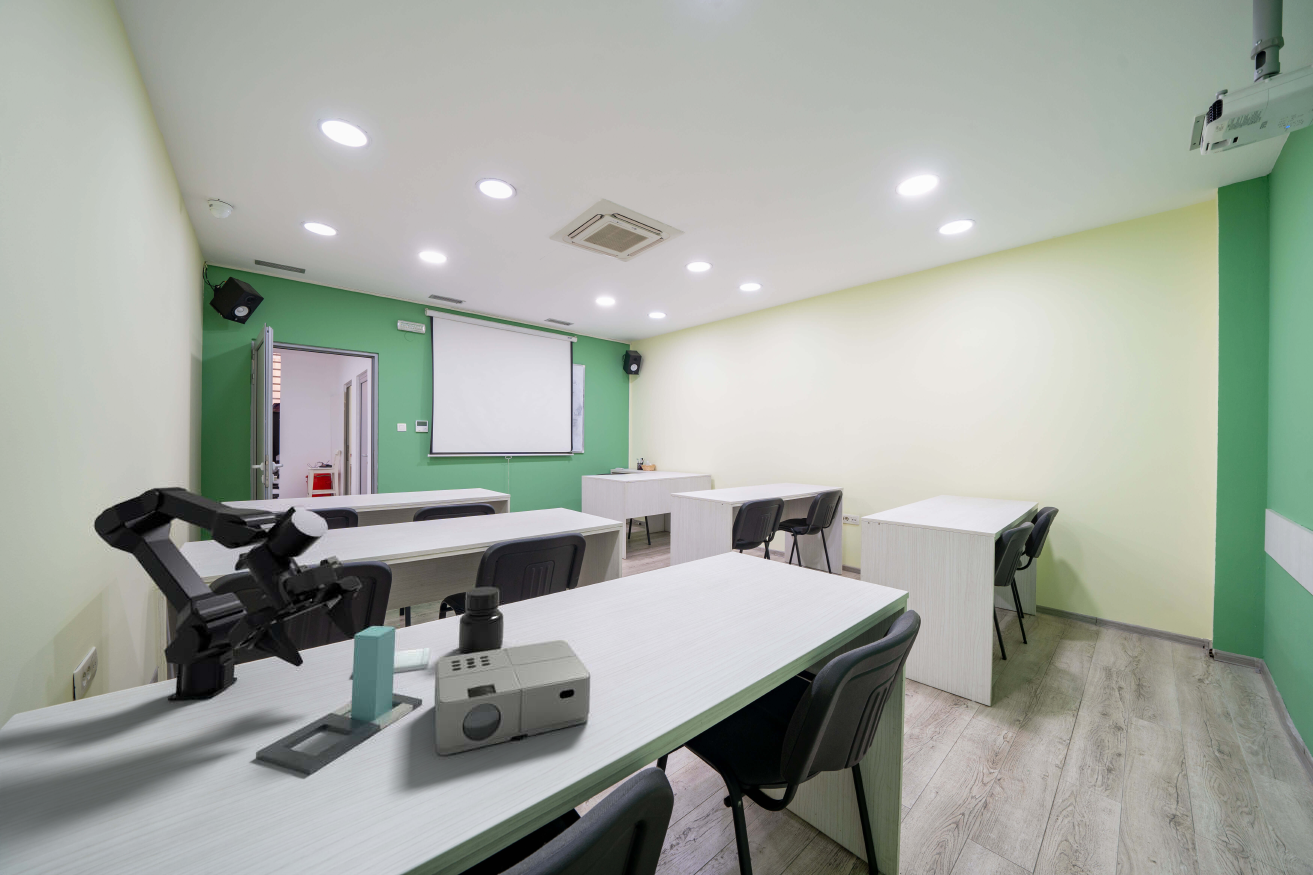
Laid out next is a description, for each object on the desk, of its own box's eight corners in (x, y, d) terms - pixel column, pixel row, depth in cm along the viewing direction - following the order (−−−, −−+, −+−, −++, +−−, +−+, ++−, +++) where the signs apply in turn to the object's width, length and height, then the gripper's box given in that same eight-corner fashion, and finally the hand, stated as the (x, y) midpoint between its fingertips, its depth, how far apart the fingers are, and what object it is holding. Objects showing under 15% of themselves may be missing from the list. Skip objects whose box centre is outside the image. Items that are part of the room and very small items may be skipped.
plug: (350, 720, 73) (354, 634, 74) (369, 706, 77) (372, 625, 78) (374, 722, 73) (378, 636, 74) (392, 708, 77) (395, 627, 78)
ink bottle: (509, 639, 107) (511, 585, 107) (497, 656, 98) (499, 597, 98) (465, 639, 106) (467, 585, 107) (449, 656, 97) (451, 596, 98)
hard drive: (352, 672, 87) (428, 662, 92) (361, 654, 95) (430, 646, 99) (352, 681, 87) (427, 670, 92) (361, 663, 95) (430, 654, 99)
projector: (433, 704, 79) (435, 656, 79) (564, 680, 89) (565, 637, 89) (435, 763, 64) (438, 704, 64) (592, 726, 74) (593, 674, 74)
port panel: (310, 774, 61) (310, 768, 61) (255, 757, 64) (256, 751, 64) (421, 704, 78) (422, 699, 79) (375, 693, 82) (375, 689, 82)
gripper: (241, 562, 69) (298, 651, 67) (355, 532, 87) (402, 600, 85) (203, 606, 72) (257, 692, 70) (321, 567, 90) (366, 635, 88)
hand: (328, 650), depth 78 cm, fingers open, 9 cm apart
